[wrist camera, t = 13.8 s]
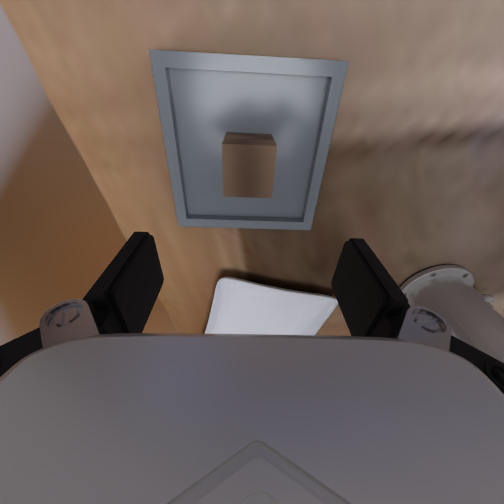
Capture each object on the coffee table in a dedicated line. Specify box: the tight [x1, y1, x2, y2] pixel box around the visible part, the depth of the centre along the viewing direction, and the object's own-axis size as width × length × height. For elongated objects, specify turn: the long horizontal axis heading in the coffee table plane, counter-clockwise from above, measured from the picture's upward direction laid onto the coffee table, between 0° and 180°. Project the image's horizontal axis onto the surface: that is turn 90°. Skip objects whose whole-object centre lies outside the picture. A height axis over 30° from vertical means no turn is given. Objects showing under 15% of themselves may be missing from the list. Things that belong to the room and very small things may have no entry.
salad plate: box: [204, 277, 338, 335], centre depth 44 cm, size 21×21×3 cm
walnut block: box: [222, 132, 277, 198], centre depth 25 cm, size 5×5×6 cm
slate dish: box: [149, 50, 349, 230], centre depth 27 cm, size 18×18×2 cm
